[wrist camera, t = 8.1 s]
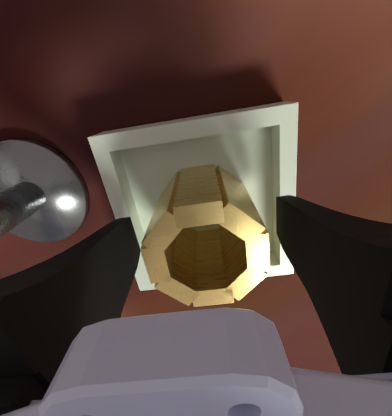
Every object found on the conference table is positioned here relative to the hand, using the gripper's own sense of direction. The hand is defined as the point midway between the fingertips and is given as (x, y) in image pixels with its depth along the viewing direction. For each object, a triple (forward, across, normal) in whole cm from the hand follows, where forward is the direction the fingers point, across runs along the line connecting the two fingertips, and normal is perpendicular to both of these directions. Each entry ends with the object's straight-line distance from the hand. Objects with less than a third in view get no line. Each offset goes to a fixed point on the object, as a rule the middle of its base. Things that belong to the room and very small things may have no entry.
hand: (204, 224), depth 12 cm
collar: (+2, 0, 0) cm, 3 cm away
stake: (+3, +10, -2) cm, 11 cm away
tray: (+3, 0, 0) cm, 3 cm away
